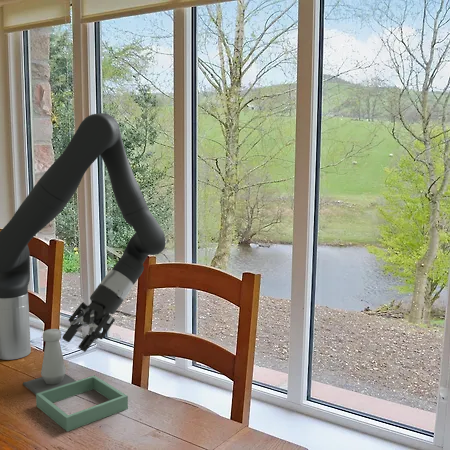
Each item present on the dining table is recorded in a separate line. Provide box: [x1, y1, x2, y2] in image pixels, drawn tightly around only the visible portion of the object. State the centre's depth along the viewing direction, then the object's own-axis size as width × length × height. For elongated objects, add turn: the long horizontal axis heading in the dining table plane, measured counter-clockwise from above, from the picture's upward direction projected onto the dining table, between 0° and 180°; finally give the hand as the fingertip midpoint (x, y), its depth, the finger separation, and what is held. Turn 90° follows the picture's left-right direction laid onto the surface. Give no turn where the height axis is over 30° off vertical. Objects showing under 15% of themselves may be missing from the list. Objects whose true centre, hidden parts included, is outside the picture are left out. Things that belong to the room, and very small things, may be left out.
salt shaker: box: [40, 328, 67, 385], centre depth 134 cm, size 6×6×13 cm
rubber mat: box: [22, 373, 77, 396], centre depth 134 cm, size 10×10×1 cm
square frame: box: [35, 375, 129, 432], centre depth 123 cm, size 15×15×3 cm
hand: (73, 345), depth 136 cm, fingers open, 8 cm apart
